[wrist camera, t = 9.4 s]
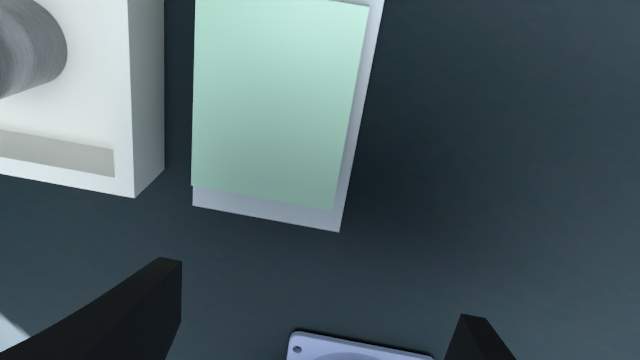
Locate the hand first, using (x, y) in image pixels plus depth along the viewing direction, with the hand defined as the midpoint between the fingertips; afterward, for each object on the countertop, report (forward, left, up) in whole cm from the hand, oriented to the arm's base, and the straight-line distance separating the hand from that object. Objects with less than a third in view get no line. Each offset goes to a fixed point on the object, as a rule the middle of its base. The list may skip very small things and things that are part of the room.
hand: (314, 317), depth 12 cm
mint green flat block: (+3, +3, -8) cm, 9 cm away
